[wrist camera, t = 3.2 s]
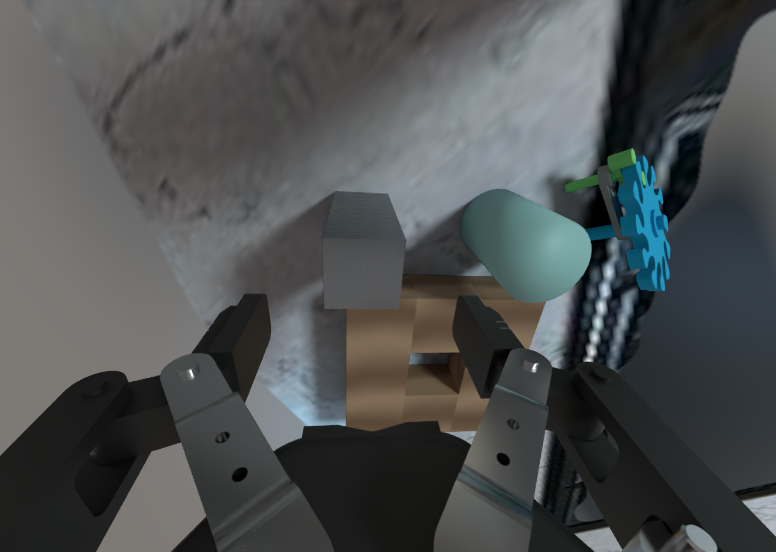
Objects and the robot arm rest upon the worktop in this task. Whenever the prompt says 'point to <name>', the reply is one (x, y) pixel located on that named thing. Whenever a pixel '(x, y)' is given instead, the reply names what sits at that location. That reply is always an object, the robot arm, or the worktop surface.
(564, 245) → the round peg
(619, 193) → the gear
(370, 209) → the square peg
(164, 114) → the worktop surface
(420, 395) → the socket block
